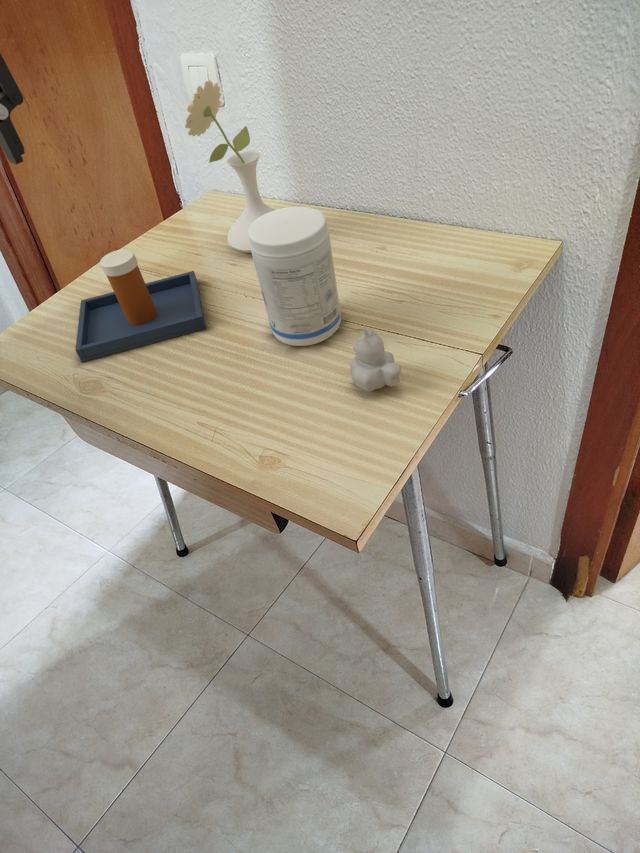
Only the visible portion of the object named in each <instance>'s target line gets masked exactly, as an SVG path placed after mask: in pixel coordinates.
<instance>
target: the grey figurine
mask: <svg viewBox="0 0 640 853" xmlns="http://www.w3.org/2000/svg"><path fill="white" fill-rule="evenodd" d="M352 349H353V350H354V355H355V356H354V357H353V358H351V360H350V362H349V370H350V376H351V379H352V381H353V383H354V385H355V386H356V387H357V388H359V389H361V390H363V391H365V392H372V391H376V390H379V389H382V388H383V387H385V386H388V387H397V386H398V385H400V383H401V379H400V375H401V373H402V366H401V365H400V364H399V363H396V362H395V357H394V354H392V353H391V352H388V351H386V350H385V344H384V340H383V338H382V337H381V336H380V335H379V334H377V332H376V331H375V330H373V329H371V330H369V331H368V330H367V328H366V327H365V326H363V334H361V335H360V336H359V337H358V339H357V342H355V343H354V345H353V347H352Z"/></svg>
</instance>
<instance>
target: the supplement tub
mask: <svg viewBox="0 0 640 853" xmlns="http://www.w3.org/2000/svg"><path fill="white" fill-rule="evenodd" d="M248 236H249V240H250V241H249V244H250V248H251V253H250V254H251V257H252V260H253V265H254V268H255V272H256V275H257V276H256V277H257V280H258V283H259V284H258V285H259V287H260V291H261V292H260V293H261V295H262V299H263V303H264V306H265V311H266V316H267V318H268V323H269V326H270V330H271V333H272V335H273V336H274V337H275V338H276V339H277V340H278V341H279V342H281V343H283V344H285V345H289V346H293V347H305V346H312V345H315V344H319V343H322V342H324V341H325V340H327V339H329V338H330V337H332V336H333V335H334V334H335V333H336V332H337V331H338V329H339V328H340V326H341V323H342V314H341V312H342V311H341V306H340V305H341V304H340V299H339V292H338V286H337V278H336V270H335V264H334V259H333V251H332V244H331V238H330V230H329V226H328V223H327V219H326V216H325V214H324V213H323V212H322V211H320V210H318V209H317V208H313V207H310V206H298V205H297V206H286V207H282V208H278V209H276V210H274V211H271V212H269V213H266V214H264V215H262V216H261V217H259V218H258V219H256V220H255V221H254V222H253V223H252V224H251V226H250V227H249V230H248Z"/></svg>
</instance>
